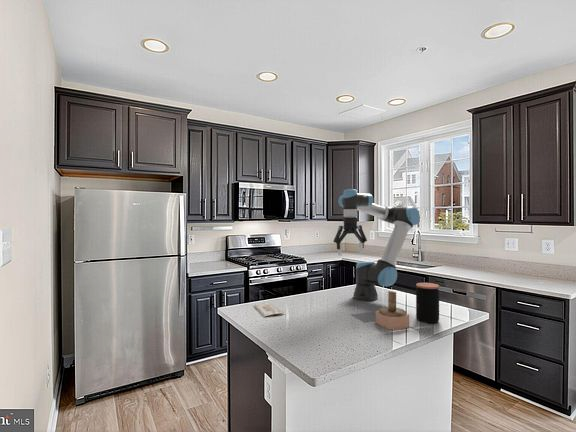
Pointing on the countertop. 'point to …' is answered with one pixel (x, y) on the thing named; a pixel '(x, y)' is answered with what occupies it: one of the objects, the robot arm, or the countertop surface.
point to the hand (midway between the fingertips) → (350, 254)
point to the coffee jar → (427, 302)
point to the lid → (392, 307)
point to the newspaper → (268, 309)
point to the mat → (365, 316)
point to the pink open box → (392, 321)
